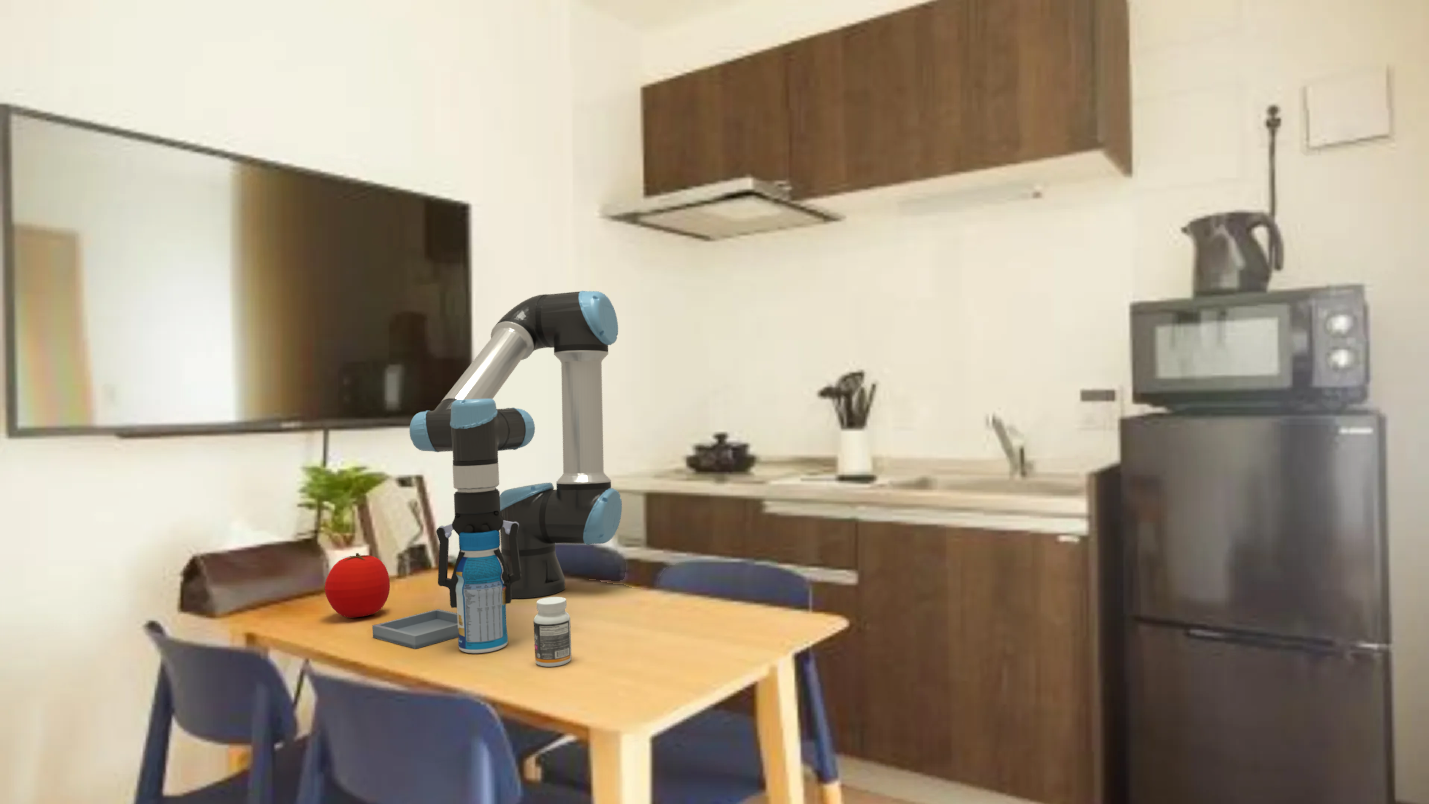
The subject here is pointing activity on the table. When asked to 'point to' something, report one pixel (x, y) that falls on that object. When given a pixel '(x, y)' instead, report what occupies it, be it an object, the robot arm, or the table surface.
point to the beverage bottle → (481, 594)
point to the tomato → (357, 586)
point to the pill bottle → (552, 632)
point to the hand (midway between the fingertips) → (482, 624)
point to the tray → (419, 629)
